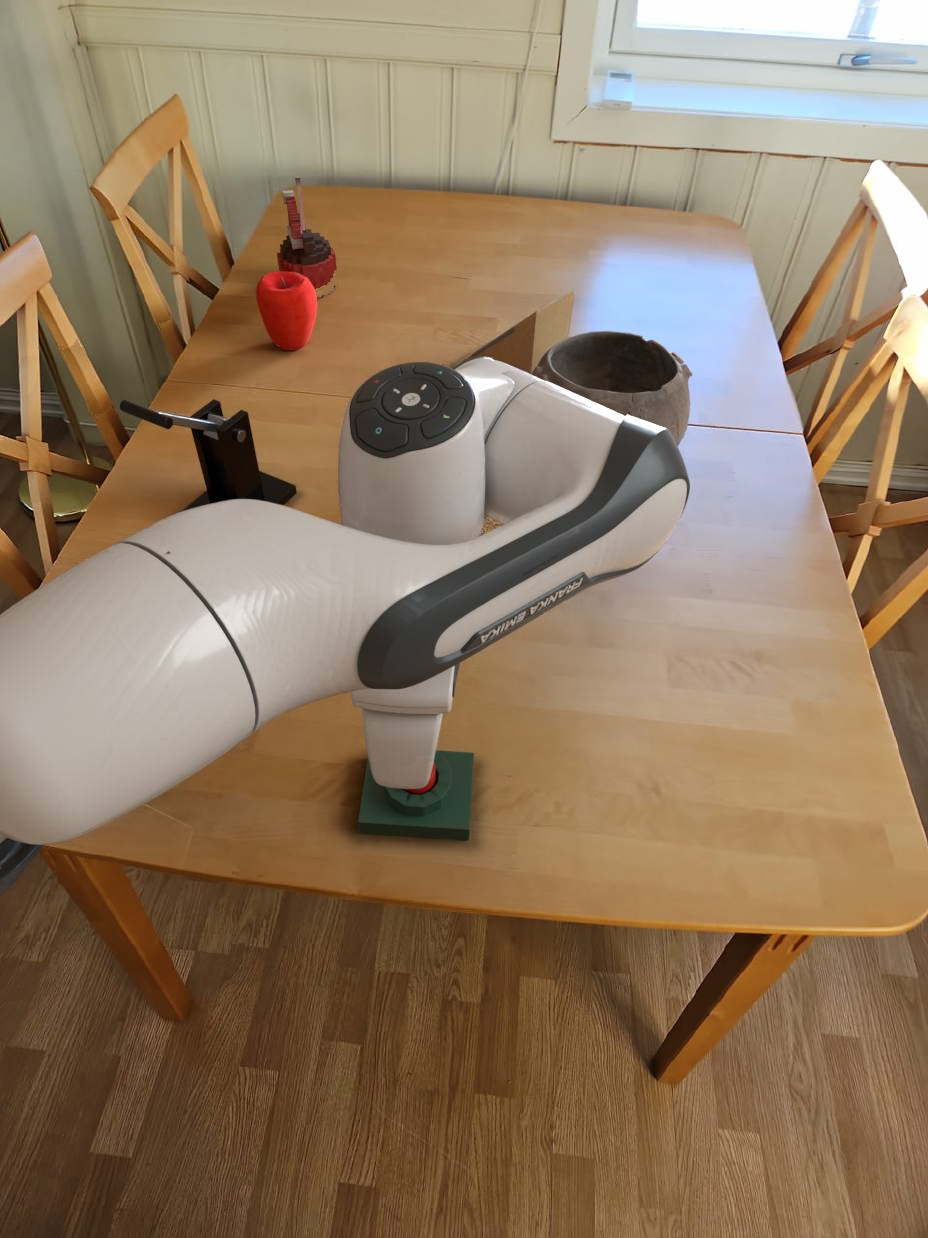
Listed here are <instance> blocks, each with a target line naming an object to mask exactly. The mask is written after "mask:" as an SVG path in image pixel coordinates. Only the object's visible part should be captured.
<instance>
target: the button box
mask: <svg viewBox="0 0 928 1238" xmlns="http://www.w3.org/2000/svg"><path fill="white" fill-rule="evenodd" d="M474 761H475V753H474V752H467V751H466V752H465V751H451V750H437V749H436V753H435V758H434V763H435V783H434V785H433V786H432V788H431V789H430V790H428V791H426V792H424V793H420V794H415V793H411V792H408V791H407V790H405V789H399V788H390V787H384V786H381V785H379V784H377V783H376V782H375V780H374V778H373V775H372V772H371V767H370V763H369V758H368V757H367V759H366V767H365V772H364V780H363V785H362V786H363V787H362V792H361V798H360V805H359V812H358V816H357V817H358V818H357V825H358V833H359V834H363V835H379V836H392V837H393V836H394V837H406V838H407V837H408V838H424V839H437V840H438V839H439V840H452V841H466V842H467V841H470V833H471V819H472V801H473V800H472V799H473V798H472V797H473V779H474V764H475V762H474Z"/></svg>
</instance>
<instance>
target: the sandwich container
mask: <svg viewBox="0 0 928 1238" xmlns="http://www.w3.org/2000/svg"><path fill="white" fill-rule="evenodd" d="M575 295H576V294H575V291H574V290H572V291H570V292H568V293H565V294H563V295H560V296H559V297H557V298H554V299H552V300H551V301H549V302H548V303H545V304H544V305H542V306H540V307H539V308H538V309H536V310H534V311H532V312H531V313H530V314H529V315H527V316H526V317H524V318H523V319H522V320H520V321H519V322H517V323H516V324H514V325H513V326H511V327H510V328H508V329H506V330H505V331H503V332H502V333H501V334H499V335H498V336H497V337H495V338H493V339H491V340H490V341H488V342H486V343H485V344H483V345H482V346H480V347H478V348H477V349H475V350H474V351H472V353H470V354H469V355H467V356H466V357H464V358H463V359H461V360H460V361H458V362H457V363H456V364H454V365H453V366H455V365H457V364H459V363H461V362H463V361H466V360H469V359H472V358H476V357H488V358H491V359H493V360H497V361H500V362H503V363H506V364H508V365H511V366H513V367H515V368H517V369H520V370H522V371H524V372H527V373H529V374H531V375H532V373H533V371H534V369H535V367H536V366H537V365H538V363H539V361H540V360H541V358H542V357H543V355H544V354H545V353H546V352H547V351H548V350H549V349H550V348H551V347H553V346H554V345H555V344H556V343H558V342H560V341H562V340H564V339H566V338H568V337H570V331H571V330H570V329H571V323H572V317H573V316H572V315H573V308H574V302H575Z"/></svg>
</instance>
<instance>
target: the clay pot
mask: <svg viewBox="0 0 928 1238" xmlns="http://www.w3.org/2000/svg"><path fill="white" fill-rule="evenodd" d="M532 375H533V376H536V377H538V378H540V379H542V380H544V381H548V382H551V383H553V384H555V385H557V386H559V387H562V388H564V389H566V390H568V391H570V392H573V393H575V394H577V395H579V396H581V397H584V398H586V399H588V400H590V401H593V402H595V403H597V404H599V405H601V406H604V407H606V408H608V409H610V410H612V411H615V412H617V413H619V414H621V415H623V416H626V415H630V416H632V417H635V418H638V419H641V420H644V421H647V422H649V423H652V424H655V425H658V426H661V427H664V428H667V429H669V431H670V432H671V434H672V436H673V438H674V440H675V442H676V444H677V446H678V447H679V445H680V443H682V442H681V441H682V440H683V439H684V438H685V434H686V432H687V430H688V426H689V420H690V415H691V397H690V394H691V393H690V386H689V385H690V384H689V379H690V378H691V377H693V372H692V371H691V370H690V368H689V367H688V365H687V364H686V363H685V361H684V359H683V358H681V357H680V356H679V355H678V354H677V353H676V352H674V351H672V352H670V351H668V350H667V348H666V347H665V346H663V345H662V344H661V343H659V342H657V341H655V340H654V339H649V340H648V339H646V338H644V337H643V335H640V334H636V333H633V332H625V331H624V332H623V331H618V330H617V331H616V330H598V331H597V330H596V331H588V332H583V333H579V334H575V335H571V336H569V337H568V338H566V339H564V340H562V341H560V342H558V343H556V344H555V345H554V346H553V347H551V348H550V349H549V350H548V351H547V352H546V353H545V354H544V355H543V357H542V358H541V360H540V361H539V363H538V365H537V366H536V367H535V369H534V371H533V373H532Z"/></svg>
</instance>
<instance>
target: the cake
mask: <svg viewBox="0 0 928 1238" xmlns="http://www.w3.org/2000/svg"><path fill="white" fill-rule="evenodd" d="M294 180H295V190H296V196H297V201H296V197H295V192H294V190H293V189H289V190H282V191H281V193H282V199H283V201H282V202H283V204H284V205H286V209H287V217H288V218H287V221H288V225H286V232H287V235H286V236H285V237H286V238H285V239H283V240H282V243H281V244H279V252H276V259H277V266H278V267H277V268H278V271H288V272H295V273H298V274H300V275H302V276H304V277H306V278H308V279H309V281H310V282H311V284H312V285H313V287H314V289H316V288H320V287H321V286H323V285H328V283H330V282H331V279H332V278H333V275H335V271H338V269H337V258H336V253H335V250H334V248H333V247H331V244H330V241H329V240H328V239H325V237H324V236H323V235H322V236H321V234H320V232H313V231H312V229H307V224H306V219H305V211H304V210H305V209H304V201H303V194H302V183H301V177H300V175H295V176H294ZM297 206H298V207H297ZM337 286H339V283H338V284H335V288H332V290H329V292H327V293H322V295H318V296H317V298H322V297H323V296H325V295H330V293H333V291H335V290H336V289H337V288H336V287H337Z"/></svg>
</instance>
